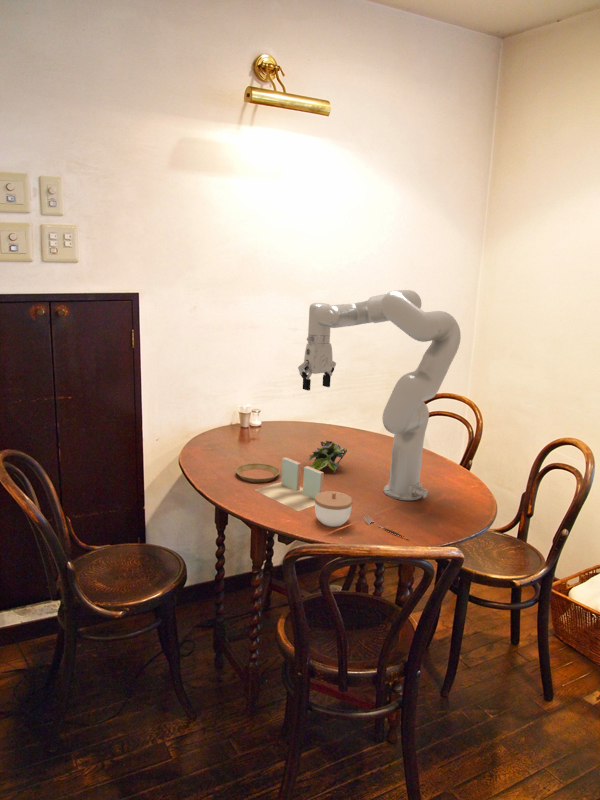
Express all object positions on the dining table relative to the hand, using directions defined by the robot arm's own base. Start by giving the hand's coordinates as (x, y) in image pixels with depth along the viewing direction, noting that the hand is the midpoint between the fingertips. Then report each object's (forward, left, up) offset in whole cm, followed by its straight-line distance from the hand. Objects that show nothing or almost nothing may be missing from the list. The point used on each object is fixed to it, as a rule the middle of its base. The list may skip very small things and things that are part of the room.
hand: (316, 388), depth 217 cm
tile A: (-22, +22, -28) cm, 42 cm away
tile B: (-12, +22, -28) cm, 37 cm away
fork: (-51, +21, -29) cm, 62 cm away
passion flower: (-8, 0, -29) cm, 30 cm away
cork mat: (-17, +26, -28) cm, 42 cm away
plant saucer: (+2, +24, -29) cm, 38 cm away
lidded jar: (-38, +30, -29) cm, 56 cm away
